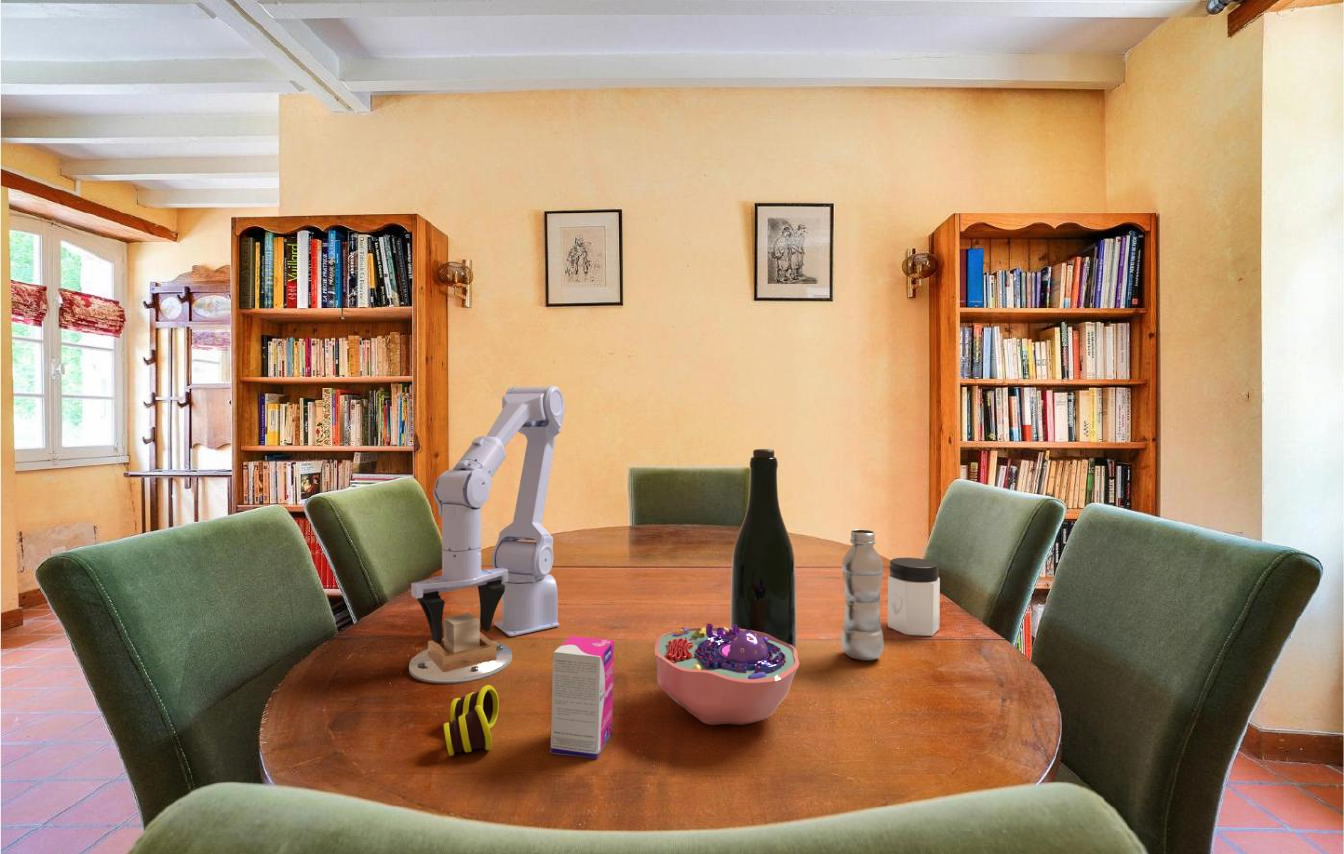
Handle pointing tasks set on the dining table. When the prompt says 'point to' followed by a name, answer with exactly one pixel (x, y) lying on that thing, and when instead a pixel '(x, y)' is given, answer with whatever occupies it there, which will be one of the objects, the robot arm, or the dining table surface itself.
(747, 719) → the cell model
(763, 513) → the wine bottle
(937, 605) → the jar
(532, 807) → the dining table surface
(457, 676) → the tray on oval base
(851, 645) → the plastic bottle
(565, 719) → the supplement box
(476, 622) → the beige wooden block
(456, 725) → the opera glasses
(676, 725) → the dining table surface
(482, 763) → the dining table surface
